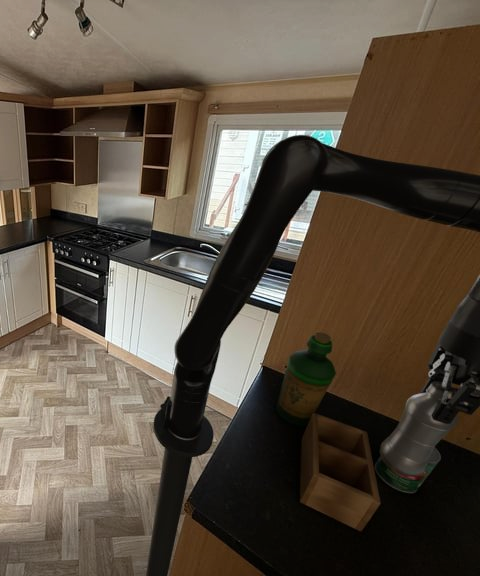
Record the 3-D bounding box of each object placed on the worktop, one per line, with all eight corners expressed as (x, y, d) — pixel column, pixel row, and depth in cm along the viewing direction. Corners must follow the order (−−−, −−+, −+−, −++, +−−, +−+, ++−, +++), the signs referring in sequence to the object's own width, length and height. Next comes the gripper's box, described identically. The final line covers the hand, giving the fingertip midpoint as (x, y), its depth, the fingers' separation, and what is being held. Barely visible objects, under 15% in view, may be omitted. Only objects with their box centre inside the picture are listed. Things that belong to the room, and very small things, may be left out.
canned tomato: (379, 484, 73) (399, 453, 68) (370, 456, 80) (388, 426, 75) (423, 499, 70) (448, 468, 65) (410, 469, 76) (432, 439, 72)
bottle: (278, 427, 88) (309, 346, 75) (267, 398, 97) (292, 322, 85) (320, 433, 86) (358, 351, 73) (304, 403, 95) (335, 326, 83)
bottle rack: (299, 502, 70) (313, 474, 65) (301, 439, 84) (312, 412, 80) (361, 532, 64) (380, 503, 60) (351, 459, 79) (367, 431, 74)
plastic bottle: (390, 479, 59) (442, 402, 50) (367, 447, 65) (410, 373, 56) (428, 483, 58) (487, 406, 49) (402, 451, 64) (450, 377, 55)
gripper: (437, 302, 55) (397, 376, 62) (469, 343, 44) (415, 427, 51) (500, 313, 51) (449, 390, 59) (551, 362, 40) (481, 449, 48)
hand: (434, 407), depth 55 cm, fingers closed on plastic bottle, 6 cm apart
